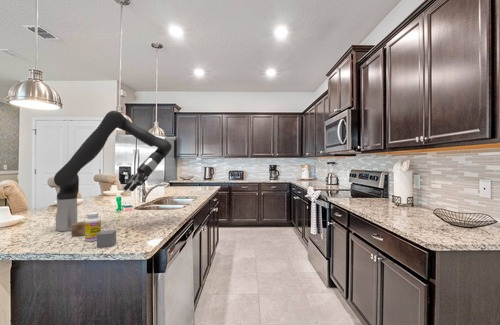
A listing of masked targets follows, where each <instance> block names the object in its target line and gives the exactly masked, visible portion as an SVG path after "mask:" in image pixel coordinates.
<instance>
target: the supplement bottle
mask: <svg viewBox="0 0 500 325" xmlns="http://www.w3.org/2000/svg"><path fill="white" fill-rule="evenodd" d="M86 216H87V218H86V219H85V220H84V222H85V236H84V241H85V242H95V241H96V242H97V234H98V233H100V232H101V231H102V218H100V217H99V212H96V211H93V212H88V213H87V215H86Z"/></svg>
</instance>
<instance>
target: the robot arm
mask: <svg viewBox="0 0 500 325" xmlns="http://www.w3.org/2000/svg"><path fill="white" fill-rule="evenodd" d="M117 129H119V130H122V131H124V132H125V133H127V134H130V135H132V137H134V138H136V139H137V140H138V141H140V142H142V143H143V144H145V145H147V146H148V147H151V148H153V147H156V150H155V151H153V152H152V153H151V154H150V155H149V156H148V157H147V158H146V159H145V160H144V161H143V162H142V163H141V164H140V165H139V166H138V167H137V169H136V172H137V173H135V174H131V175H130V176H129V177H128V179H127V180H126V184H125V185H124V186H123V188H122V189H123V190H124V191H125V192H127V191H128V190H129V191H130V192H134V191H135V190H136V188H137V187H140V186H142V185H143V184H144V183H145V182H146V181H147V180H148V179H149V177H150V175H152V173H154V171H155V170H156V169H157V167H158V166H159V165H160V164H161V162H162V160H164V159H165V158H166V157H167V156H168V154H169V153H170V152H171V150H172V144H171V142H170V141H169V140H167V139H166V138H165V139H164V138H162V137H159V136H157V135H155V134H152V133H151V132H150V131H147V130H146V129H145V128H144V129H143V128H142V127H140V126H138V125H137V124H135V123H133V122H132V121H130V120H129V119H128V118H127V117H125V115H124V114H123V113H121V112H120V111H118V110H110V111H109V112H107V113H106V114H105V116H104V118H102V120H101V122H100V123H99V124H98V126H97V127H96V129H94V131H93V132H91V134H90V135H89V136H88V137H87V138H86V139H85V140H84V142H83V143H82V144H81V145H80V146H79V148H78V149H76V151H75V153H74V154H73V155H72V157H71V158H70V159H69V160H68V161H67V162H66V164H64V165H63V167H61V168H60V169H59V170H58V171H57V172H56V173H55V175H54V177H53V182H54V184H55V185H56V186H57V187H59V192H58V193H56V213H55V231H57V232H68V231H72V227H71V225H73V224H75V223H77V222H78V193H79V189H80V188H79V187H80V178H79V175H78V173H79V172H80V171H81V170H82V169H83V168H84V167H85V166H86V165H88V164H89V163H91V162H92V161H93V160H94V159H95V158H96V157H98V154H100V153H101V151H102V150H103V148H104V147H105V145H106V143H107V142H108V139H109V137H110V136H111V134H112V133H113V132H114V131H116V130H117Z"/></svg>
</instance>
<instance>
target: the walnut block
mask: <svg viewBox="0 0 500 325" xmlns="http://www.w3.org/2000/svg"><path fill="white" fill-rule="evenodd" d="M71 227H72V230H71V238H74V237H85V221H80V222H79V221H77V223H75V224H73V225H71Z"/></svg>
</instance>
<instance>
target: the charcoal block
mask: <svg viewBox="0 0 500 325" xmlns="http://www.w3.org/2000/svg"><path fill="white" fill-rule="evenodd" d="M116 243H117V230H116V229H109V230H108V229H107V230H101V232H100V233H98V234H97V240H96V248H97V249H99V248H101V249H102V248H112V247H113V246H114V245H115V244H116Z"/></svg>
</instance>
